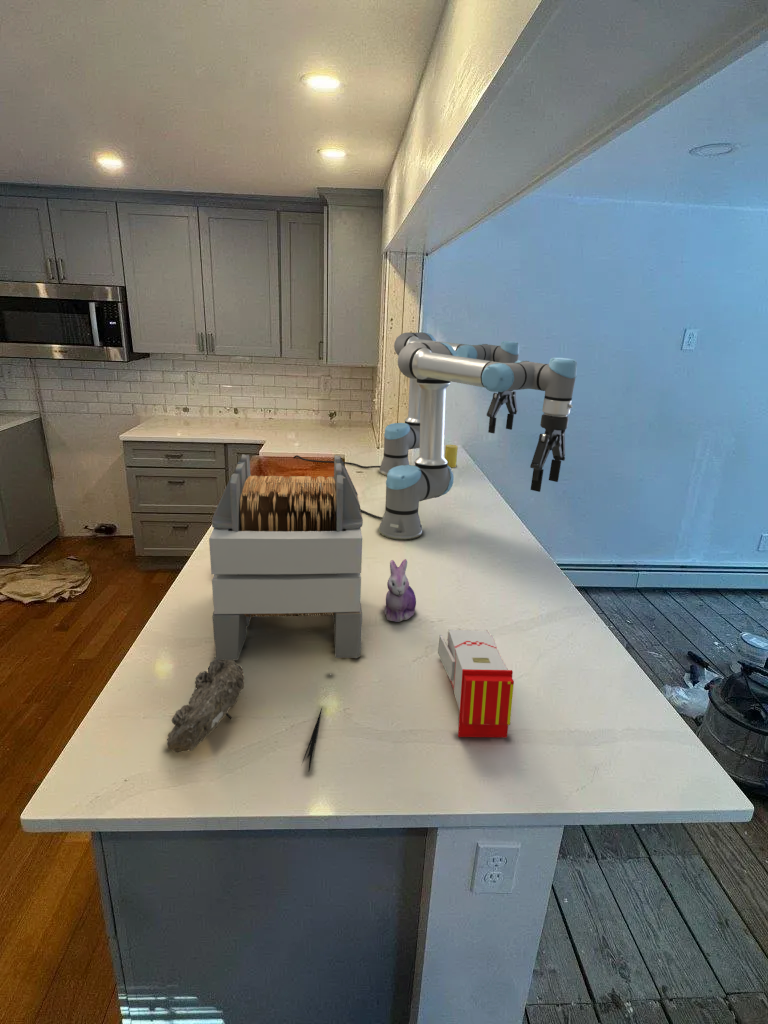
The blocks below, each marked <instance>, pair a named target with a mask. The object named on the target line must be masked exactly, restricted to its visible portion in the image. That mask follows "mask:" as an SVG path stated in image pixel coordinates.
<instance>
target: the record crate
mask: <svg viewBox="0 0 768 1024" xmlns="http://www.w3.org/2000/svg"><path fill="white" fill-rule="evenodd" d="M333 461H334V463H333V469H334V470H333V476H327V477H325V476H321V475H319V476H314V477H313V476H311V475H309V476H307V475H290V476H283V475H279V476H278V475H265V476H264V475H259V476H258V475H251V459H250V454H243V453H242V454H241V456H240V459H239V461H238V462H237V464H236V466H235V469H234V471H233V473H232V474H231V475H230V478H229V479H228V482H227V484H226V486H225V489H224V491H223V493H222V496H221V498H220V500H219V502H218V504H217V507H216V508H215V511H214V513H213V516H212V518H211V527H212V528H213V529H212V531H211V534H210V535H209V538H208V543H209V559H210V574H211V575H213V576H212V579H211V587H212V588H211V589H212V600H213V601H212V603H213V612H212V629H213V630H212V631H213V640H214V649H215V657H214V660H217V661H224V660H227V659H228V660H231V659H232V660H234V661H238V660H239V658H240V654H241V653H242V649H243V647H244V645H245V642H246V640H247V636H248V632H247V630H248V629H247V627H249V626H250V624H251V623H250V622H251V618H253V617H254V618H255V617H258V618H259V617H264V618H265V617H267V618H268V617H292V616H293V617H308V616H310V617H311V616H333V618H332V619H333V626H334V627H333V636H334V638H333V639H334V640H333V641H334V658H337V659H342V658H344V659H345V658H347V659H349V658H352V659H358V658H359V657H361V656H362V633H363V632H362V631H363V630H362V629H363V611H362V603H361V590H362V576H361V574H362V563H363V562H362V561H363V534H362V529H361V528H362V527H363V525H364V524H363V523H364V519H363V515H362V512H361V510H362V509H361V505H360V499H359V494H358V492H357V489H356V487H355V485H354V483H353V481H352V478H351V477H350V474H349V472H348V470H347V468H346V466H345V465H346V464H344V463H343V462H344V461H343V459H342V456H341V455H336V454H334V458H333Z"/></svg>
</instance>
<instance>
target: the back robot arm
mask: <svg viewBox="0 0 768 1024" xmlns="http://www.w3.org/2000/svg"><path fill="white" fill-rule="evenodd" d="M415 342H420V343H421V342H440V341H437V340H436V338H435V337H434V336H433V334H431V333H430V332H429V333H428V332H423V331H421V332H419V331H418V332H403V333H400V334H399V335H398V336H397V337H396V338H395V340H394V344H393V349H394V352H395V354H396V355H397V356H398V355H399V353H400V351H401V350H402V348H404V347H405V346H406V345H408V344H410V343H415ZM441 342H442V343H447V344H449V345H451V346H452V347H453V349H454V350H455V351H456V353H457V356H459V357H465V358H472V359H479V360H486V361H493V362H500V363H515V362H516V361H519V356H520V343H519V342H518V341H510V340H503V341H501V343H500V345H495V344H488V343H479V344H465V343H457V342H456V343H455V342H446V341H441ZM516 394H517V390H510V391H503V392H493V394H492V399H491V402H490V404H489V406H488V410H487V412H486V417H487V418H489V419H488V420H489V422H488V431H487V433H489V434H496V425H497V417H496V416H497V415H498V413H499V411H500V409H501V407H502V406H503V405H505V406H506V409H507V411H508V413H507V415H506V423H505V425H506V426H505V429H506V430H511V431H512V430H513V423H514V418H515V415H517V414H518V411H519V410H518V404H517V395H516ZM407 410H408V413H407V414H408V415H407V417H406V418H405V420H404V422H393V423H390V424H388V425H386V426H385V428H384V433H383V436H384V439H383V458H382V460H381V463H380V465H368V466H365V465H361V464H358V463H355V462H349V461H343V463H344V465H350V466H351V465H352V466H355V467H358V468H362V469H373V468H377V469H379V470H378V472H379V474H380V475H383V476H386V477H387V474H388V472H389V470H390V469H392V468H394V467H396V466H401V465H404V466H405V465H410V461H409V451H410V450H414V449H420V410H421V388H420V386H419V385H418V384H417V379H412V378H409V386H408V409H407ZM296 458H298V459H300V460H302V461H306V462H313V463H321V464H322V463H323V464H334V460H319V459H318V460H316V459H309V458H303V457H302V456H300V455H294V456H293V458H292V459H296Z"/></svg>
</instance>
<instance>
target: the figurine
mask: <svg viewBox="0 0 768 1024" xmlns="http://www.w3.org/2000/svg"><path fill="white" fill-rule="evenodd" d="M407 567H408V559H406V558H404V559H403V560H402V561H401V563H400V565H399V566H398V565H397V563H396V562H395V561H394V560H393V559H391V560H390V561H389V570H390V576H389V578H388V579H387V589H388V591H387V592H386V594H385V595H386V596H385V607H384V615H385V616H386V620H387V621H391V622H395V623H400V622H402V621H406V620H409V619H410V618H411V617H413V616H414V615H415V610H416V606H417V597H416V593H415V591H414V590H413V587H411V586H410V582H409V579H408V577H407V574H406V571H407Z"/></svg>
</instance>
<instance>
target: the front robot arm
mask: <svg viewBox="0 0 768 1024" xmlns="http://www.w3.org/2000/svg"><path fill="white" fill-rule="evenodd" d="M442 342H443V341H439V342H421V343H420V342H415V343H410V344H408V345H406V346H405V347H404V348H402V350H401V351H400V353H399V355H397V367H398V369H399V371H400V373H401V374H402V375H403V376H404V377H406V378H409V379H410V378H412V379H417V384H418V385H419V386H420V388H421V410H420V448H419V456H418V457H417V458H416V459H415V460H414V465H413V464H409V465H405V466H404V465H401V466H396V467H394V468H392V469H390V470H389V472H388V474H387V476H386V479H385V504H384V505H385V507H384V508H385V509H384V513H383V515H382V516H379V515H376V514H373V513H370V512H369V511H365V510H363V509H361V513H363V514H365V515H368V516H370V517H373V518H375V519H379V520H381V522H379V527H378V533H379V534H380V535H381V536H382V537H385V538H387V539H389V540H395V541H410V540H415V539H418V538H420V537H421V536H422V535H423V525H422V524H421V518H420V515H419V507H420V506H419V505H420V502H422V501H427V500H431V499H436V498H440V497H442V496H444V495H446V494H448V493H449V492H450V491H451V489H452V487H453V485H454V472H453V471H452V468H450V467H449V466H448V465H447V464H448V461H447V460H446V459H445V458H444V457H445V427H446V424H445V423H446V401H447V400H446V399H447V397H446V396H447V388H448V387H449V386H450V385H451V383H457V384H463V385H468V386H474V387H480V388H484V389H486V390H487V391H488V392H493V393H498V392H503V391H510V390H513V391H519V390H520V391H522V390H535V391H542V392H544V399H543V403H542V409H541V411H542V414H541V417H540V424H539V426H540V428H542V429H544V430H545V431H544V433H539V436H538V441H537V445H536V448H535V450H534V454H533V456H532V459H531V463H530V467H529V468H530V469H532V476H531V483H530V484H531V485H530V491H533V492H539V493H540V492H541V489H542V483H543V477H544V469H543V468H544V466H545V463H546V461H547V459H548V456H549V454H550V451H551V453H552V459H551V462H550V469H549V474H548V481H551V482H555V483H558V482H559V477H560V471H561V465H562V461H563V462H565V461H566V430H567V429H568V426H569V420H570V417H569V415H570V412H571V409H572V408H573V404H572V400H573V393H574V389H575V383H576V378H577V368H578V362H577V360H576V359H573V358H567V357H551V358H550V359H549V363H543V362H542V363H541V362H534V361H530V360H518V361H516V362H515V363H500V362H493V361H486V360H479V359H472V358H465V357H459V356H457V353H456V351H455V350H454V349H453V347H452V346H451V345H449V344H447V343H442Z"/></svg>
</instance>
